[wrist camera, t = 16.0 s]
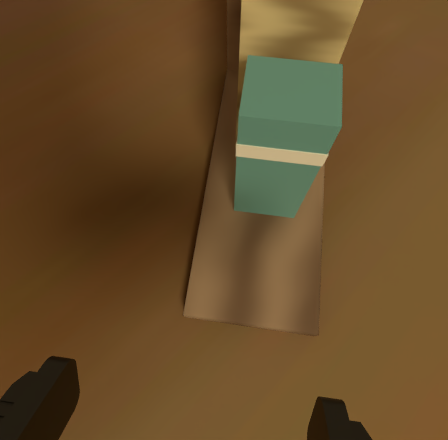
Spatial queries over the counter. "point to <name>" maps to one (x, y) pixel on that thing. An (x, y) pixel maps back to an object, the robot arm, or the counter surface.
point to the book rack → (226, 172)
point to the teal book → (284, 131)
